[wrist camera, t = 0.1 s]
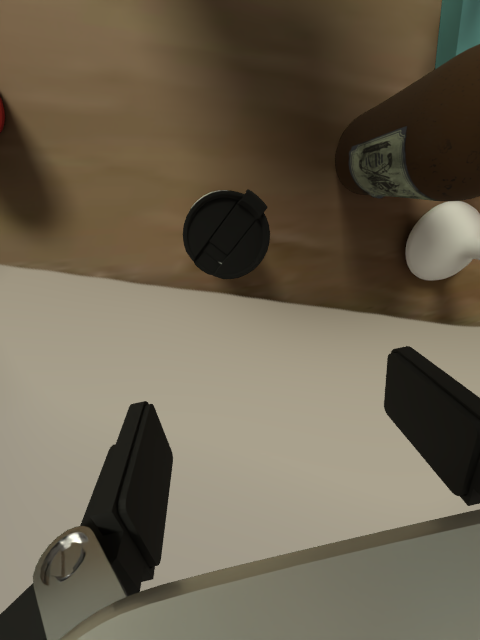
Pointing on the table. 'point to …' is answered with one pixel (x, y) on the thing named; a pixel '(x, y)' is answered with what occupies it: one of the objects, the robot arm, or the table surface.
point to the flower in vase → (444, 241)
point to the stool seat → (457, 28)
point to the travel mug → (227, 233)
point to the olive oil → (419, 138)
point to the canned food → (1, 115)
